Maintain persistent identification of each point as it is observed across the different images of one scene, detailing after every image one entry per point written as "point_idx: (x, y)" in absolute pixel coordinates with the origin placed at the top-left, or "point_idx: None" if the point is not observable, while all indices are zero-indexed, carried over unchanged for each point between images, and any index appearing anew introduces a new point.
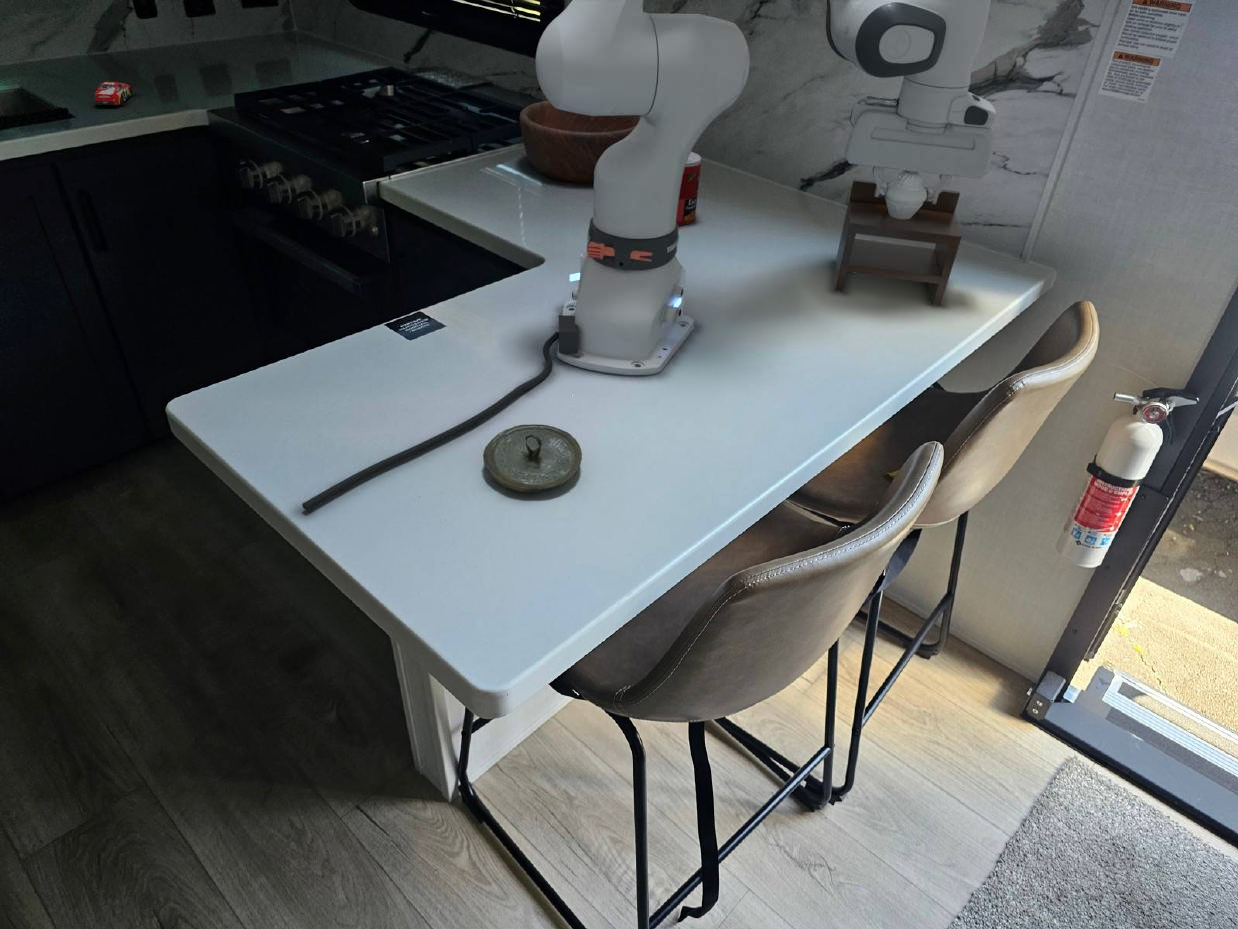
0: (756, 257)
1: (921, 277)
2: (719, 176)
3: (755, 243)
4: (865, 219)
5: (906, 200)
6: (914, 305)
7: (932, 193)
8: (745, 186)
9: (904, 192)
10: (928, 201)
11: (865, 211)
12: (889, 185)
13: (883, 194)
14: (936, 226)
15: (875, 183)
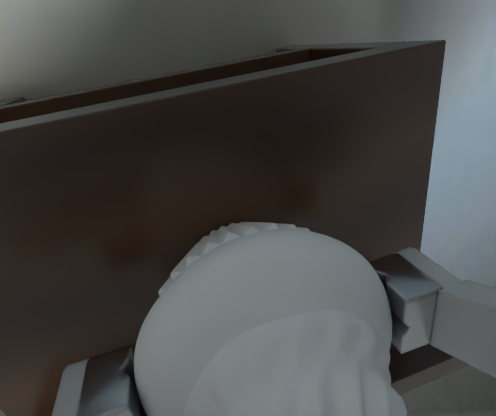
0: (452, 145)
1: (62, 95)
2: (474, 388)
3: (448, 207)
4: (374, 132)
5: (255, 239)
6: (71, 62)
7: (97, 411)
8: (445, 385)
9: (301, 282)
10: (115, 353)
11: (370, 225)
12: (390, 335)
13: (384, 268)
14: (32, 247)
15: (396, 381)
